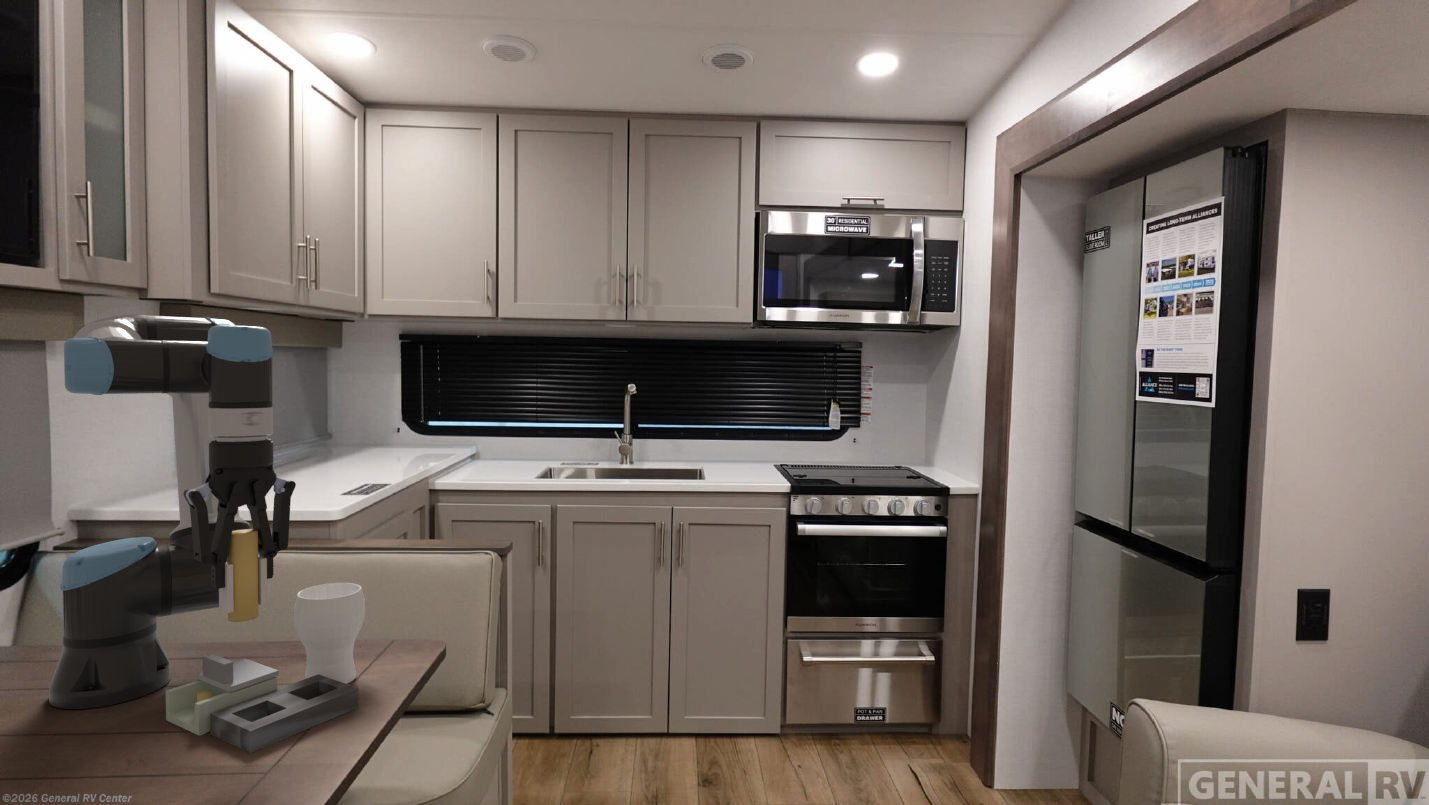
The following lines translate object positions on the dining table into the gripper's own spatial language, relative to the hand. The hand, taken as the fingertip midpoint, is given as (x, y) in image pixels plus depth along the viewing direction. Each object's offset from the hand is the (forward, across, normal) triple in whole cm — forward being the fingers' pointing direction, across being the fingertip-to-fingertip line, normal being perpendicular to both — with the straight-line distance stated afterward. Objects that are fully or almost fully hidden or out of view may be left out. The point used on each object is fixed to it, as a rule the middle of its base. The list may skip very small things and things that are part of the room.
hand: (243, 606), depth 104 cm
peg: (+2, 0, 0) cm, 2 cm away
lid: (+14, +4, +11) cm, 18 cm away
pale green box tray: (+19, +1, +11) cm, 22 cm away
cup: (+19, +17, +10) cm, 27 cm away
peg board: (+19, +6, +1) cm, 20 cm away
